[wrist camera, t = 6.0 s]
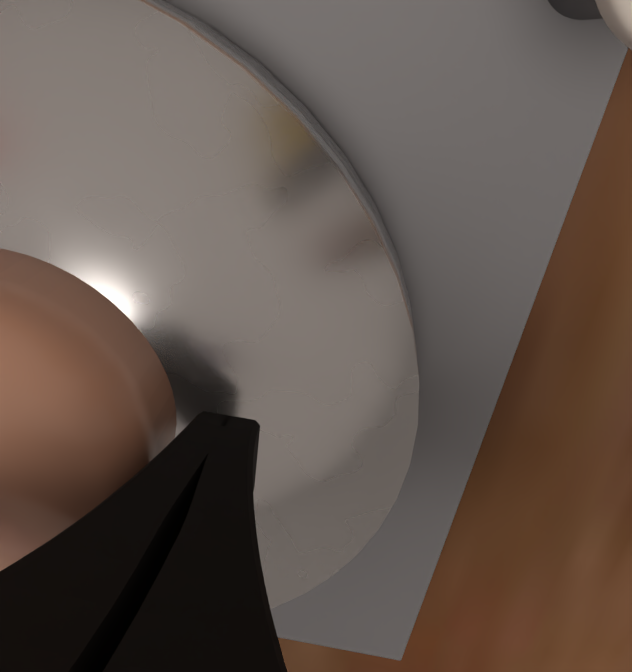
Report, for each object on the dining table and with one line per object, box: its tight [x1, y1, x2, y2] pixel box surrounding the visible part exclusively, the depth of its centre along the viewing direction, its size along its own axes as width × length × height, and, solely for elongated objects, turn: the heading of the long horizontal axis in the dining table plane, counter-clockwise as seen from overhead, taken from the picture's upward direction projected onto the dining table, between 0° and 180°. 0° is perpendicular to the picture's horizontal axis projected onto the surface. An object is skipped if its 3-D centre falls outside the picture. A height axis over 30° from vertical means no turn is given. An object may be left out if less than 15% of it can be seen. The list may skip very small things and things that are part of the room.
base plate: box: [164, 0, 632, 661], centre depth 12 cm, size 21×21×6 cm
